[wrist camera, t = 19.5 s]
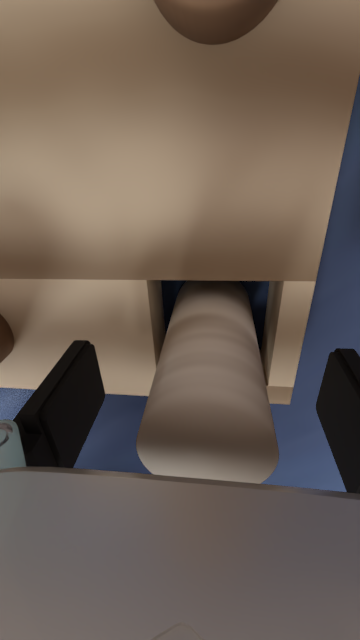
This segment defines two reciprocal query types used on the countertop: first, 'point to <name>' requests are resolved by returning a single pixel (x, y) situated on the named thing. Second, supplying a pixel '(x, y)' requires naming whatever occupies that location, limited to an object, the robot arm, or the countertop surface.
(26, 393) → the countertop surface
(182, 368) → the loose leg
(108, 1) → the wooden board with pegs
